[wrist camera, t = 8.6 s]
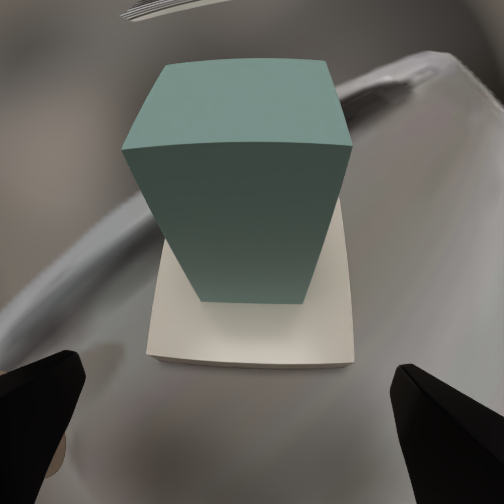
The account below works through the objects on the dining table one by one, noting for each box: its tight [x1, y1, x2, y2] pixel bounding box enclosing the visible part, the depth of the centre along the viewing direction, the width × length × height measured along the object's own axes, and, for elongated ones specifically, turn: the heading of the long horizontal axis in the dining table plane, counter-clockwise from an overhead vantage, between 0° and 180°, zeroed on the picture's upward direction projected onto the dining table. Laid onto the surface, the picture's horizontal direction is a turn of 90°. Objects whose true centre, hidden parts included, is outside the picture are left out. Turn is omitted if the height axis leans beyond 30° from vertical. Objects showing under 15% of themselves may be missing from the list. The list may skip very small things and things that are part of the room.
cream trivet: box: [146, 196, 354, 369], centre depth 20 cm, size 12×12×2 cm
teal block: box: [121, 58, 353, 304], centre depth 14 cm, size 5×6×12 cm
